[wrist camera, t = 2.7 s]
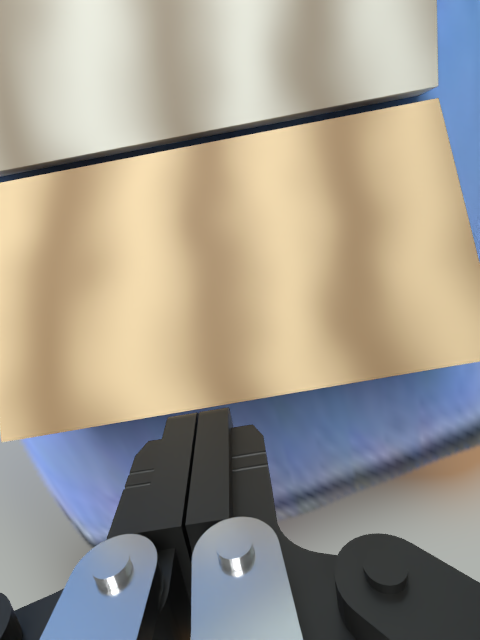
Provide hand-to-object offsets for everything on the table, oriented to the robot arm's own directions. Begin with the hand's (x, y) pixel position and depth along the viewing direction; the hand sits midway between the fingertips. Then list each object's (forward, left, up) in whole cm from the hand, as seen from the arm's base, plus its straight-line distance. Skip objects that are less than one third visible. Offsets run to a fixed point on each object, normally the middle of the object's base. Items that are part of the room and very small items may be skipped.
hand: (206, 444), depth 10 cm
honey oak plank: (-1, -2, -11) cm, 11 cm away
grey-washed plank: (-1, -13, -14) cm, 19 cm away
